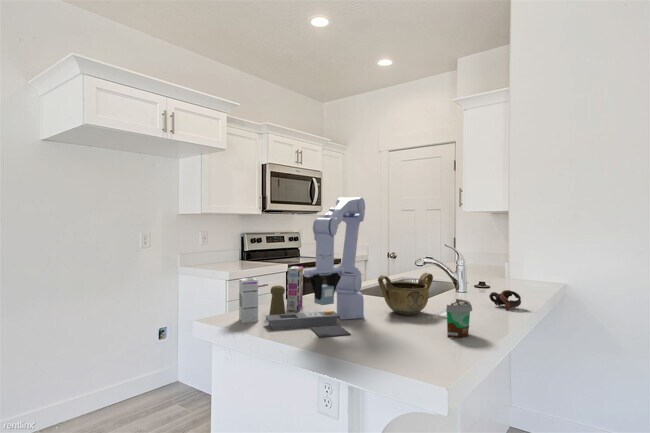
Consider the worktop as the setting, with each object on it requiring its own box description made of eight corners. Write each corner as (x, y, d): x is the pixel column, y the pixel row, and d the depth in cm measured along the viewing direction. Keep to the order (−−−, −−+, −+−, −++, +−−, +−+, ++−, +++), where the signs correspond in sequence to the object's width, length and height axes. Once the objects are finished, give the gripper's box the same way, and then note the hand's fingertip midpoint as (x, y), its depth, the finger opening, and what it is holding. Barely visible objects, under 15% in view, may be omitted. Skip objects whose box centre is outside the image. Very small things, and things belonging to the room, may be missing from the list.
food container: (467, 342, 114) (467, 307, 114) (446, 338, 117) (446, 305, 117) (475, 332, 124) (476, 300, 125) (456, 329, 128) (456, 298, 128)
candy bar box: (299, 312, 150) (299, 269, 150) (286, 311, 150) (286, 269, 150) (303, 305, 161) (303, 266, 161) (291, 305, 161) (291, 265, 161)
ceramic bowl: (419, 306, 161) (419, 270, 161) (444, 316, 145) (444, 275, 145) (370, 310, 154) (370, 272, 154) (390, 320, 138) (391, 278, 138)
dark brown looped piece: (518, 307, 164) (523, 292, 160) (516, 321, 156) (522, 306, 152) (488, 297, 169) (493, 282, 164) (484, 311, 161) (489, 296, 157)
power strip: (333, 319, 139) (333, 308, 139) (339, 324, 132) (340, 313, 132) (265, 324, 131) (265, 313, 131) (269, 329, 125) (269, 317, 125)
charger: (325, 301, 127) (325, 284, 127) (334, 303, 124) (334, 286, 124) (314, 302, 125) (314, 285, 125) (322, 305, 121) (323, 287, 121)
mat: (339, 326, 129) (339, 325, 129) (350, 335, 120) (350, 333, 120) (310, 328, 126) (310, 327, 126) (319, 337, 117) (319, 336, 117)
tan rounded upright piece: (282, 318, 139) (283, 287, 140) (266, 317, 141) (267, 286, 141) (287, 314, 145) (288, 284, 146) (272, 313, 147) (272, 284, 147)
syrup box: (258, 321, 134) (259, 279, 135) (241, 323, 132) (241, 280, 132) (255, 318, 140) (255, 277, 140) (238, 319, 137) (238, 278, 138)
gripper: (335, 253, 132) (334, 293, 132) (298, 255, 123) (298, 298, 123) (348, 255, 126) (348, 297, 126) (311, 257, 117) (311, 302, 117)
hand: (324, 298), depth 124 cm, fingers closed on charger, 4 cm apart
